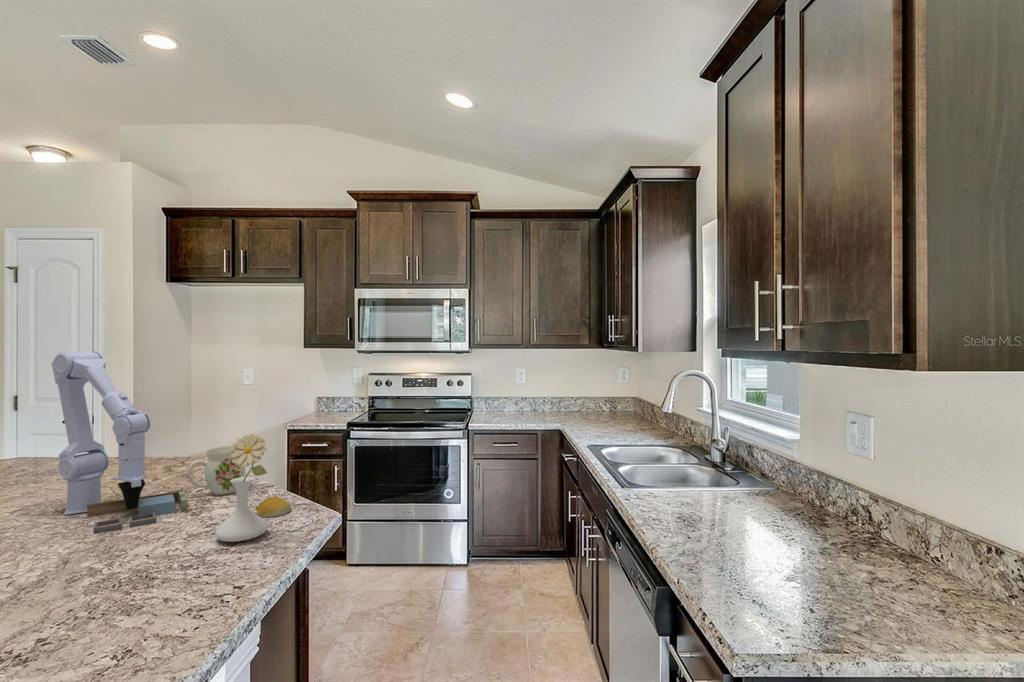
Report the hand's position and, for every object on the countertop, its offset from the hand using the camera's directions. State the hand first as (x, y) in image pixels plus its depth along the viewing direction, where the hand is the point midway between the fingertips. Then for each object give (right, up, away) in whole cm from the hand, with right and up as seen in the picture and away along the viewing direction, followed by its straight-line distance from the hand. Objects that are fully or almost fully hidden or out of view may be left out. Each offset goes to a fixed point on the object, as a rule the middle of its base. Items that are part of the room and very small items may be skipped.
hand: (131, 508), depth 138 cm
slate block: (+5, -2, +3) cm, 6 cm away
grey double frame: (+4, -2, -8) cm, 9 cm away
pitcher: (+13, -2, +20) cm, 24 cm away
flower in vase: (+39, -2, -16) cm, 42 cm away
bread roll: (+38, -2, +2) cm, 38 cm away
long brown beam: (+1, -2, +1) cm, 2 cm away
